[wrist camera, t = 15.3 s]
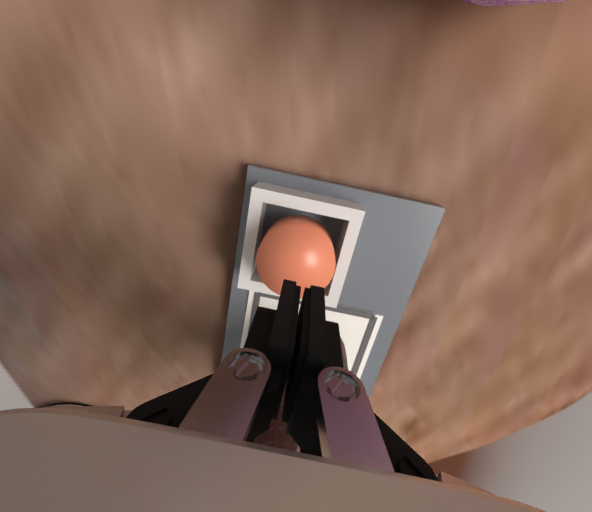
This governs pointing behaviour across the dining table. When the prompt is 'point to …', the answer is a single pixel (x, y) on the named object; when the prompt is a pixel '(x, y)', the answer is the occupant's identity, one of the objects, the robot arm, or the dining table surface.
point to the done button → (296, 254)
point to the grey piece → (337, 259)
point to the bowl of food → (507, 2)
